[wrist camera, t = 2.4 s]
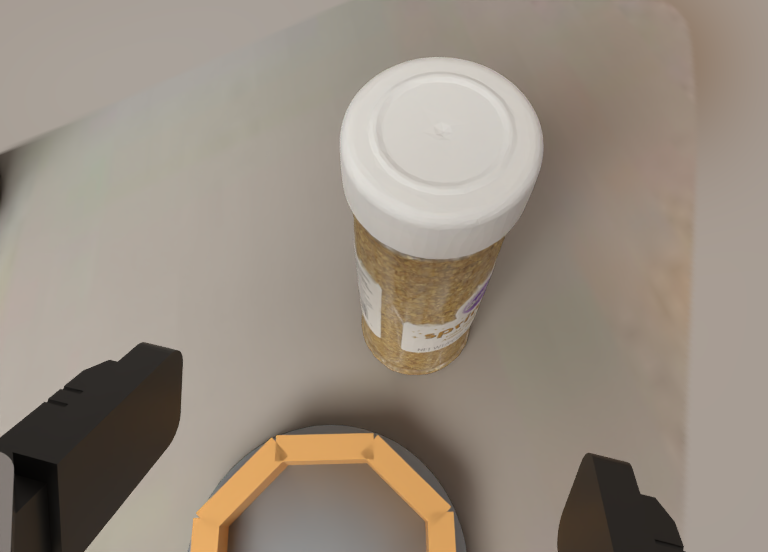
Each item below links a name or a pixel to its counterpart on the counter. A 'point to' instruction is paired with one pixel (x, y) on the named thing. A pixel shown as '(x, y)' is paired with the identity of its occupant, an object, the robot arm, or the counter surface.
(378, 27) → the counter surface
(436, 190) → the spice jar
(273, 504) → the orange rimmed grey dish
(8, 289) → the counter surface
